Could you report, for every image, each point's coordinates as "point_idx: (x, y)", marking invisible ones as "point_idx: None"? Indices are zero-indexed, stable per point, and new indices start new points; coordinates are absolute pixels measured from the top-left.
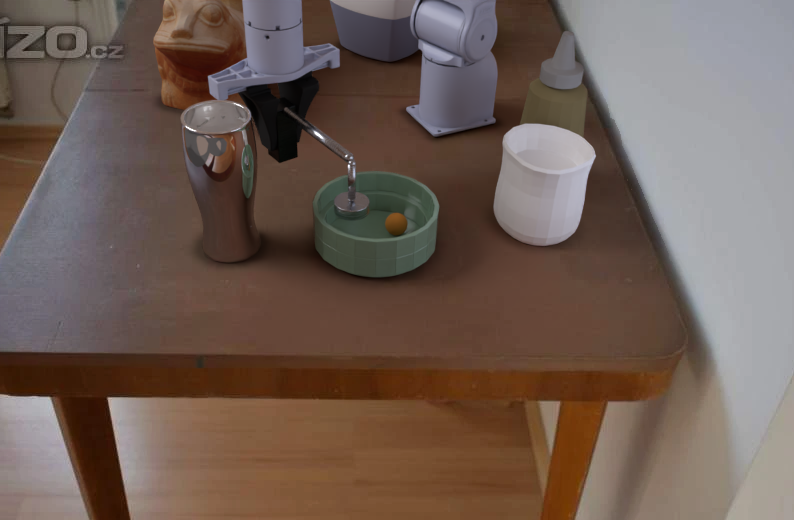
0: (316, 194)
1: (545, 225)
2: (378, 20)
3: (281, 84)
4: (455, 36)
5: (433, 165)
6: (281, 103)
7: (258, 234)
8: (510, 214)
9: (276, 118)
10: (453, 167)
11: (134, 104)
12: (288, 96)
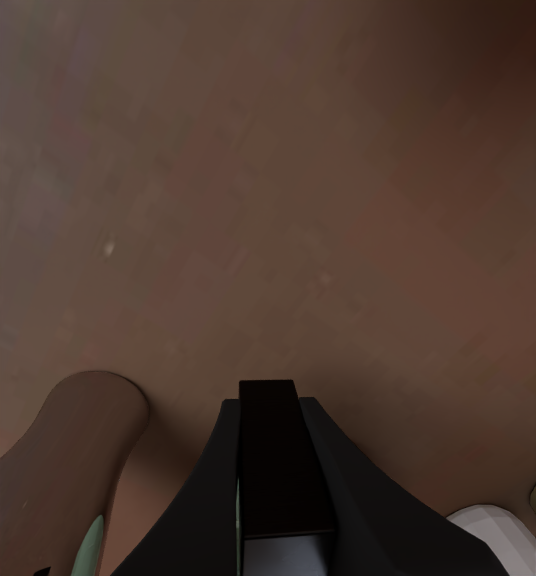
0: (237, 522)
1: None
2: None
3: (366, 564)
4: None
5: (505, 393)
6: (293, 565)
7: (140, 437)
8: None
9: (239, 559)
10: (519, 412)
11: None
12: (344, 559)
